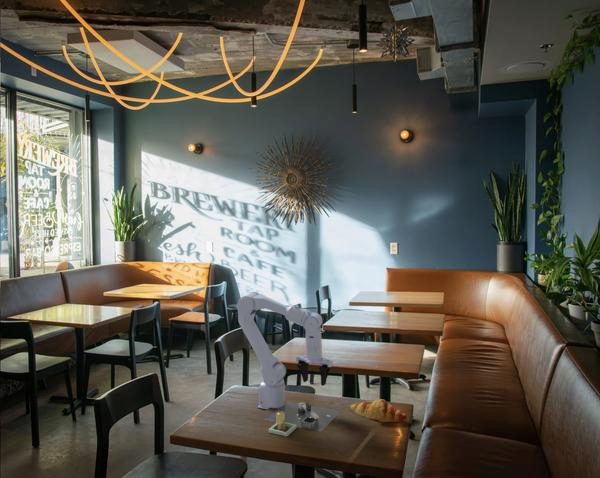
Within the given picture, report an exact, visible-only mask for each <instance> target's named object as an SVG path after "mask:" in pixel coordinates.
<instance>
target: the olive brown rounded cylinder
mask: <svg viewBox="0 0 600 478" xmlns="http://www.w3.org/2000/svg"><path fill="white" fill-rule="evenodd" d="M275 424H276V429H275V430H279V431H284V432H285V430H286V426H285V412H283V411H278V412H276V422H275Z"/></svg>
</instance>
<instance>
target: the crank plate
mask: <svg viewBox="0 0 600 478" xmlns="http://www.w3.org/2000/svg"><path fill="white" fill-rule="evenodd" d="M298 403H299V402H296V401H290V400H288V401H285V405H284V406H282V407H280V408H276V410H274V411H273V412H272V413H270V414H269V415H268V416H267V417H265V418H263V421H266V422H267V421H268V422H272V423H276V412H278V411H283V412H285V422H286V423H291V424H296V425H297V428H299V429H304V430H305V429H306V430H311V431H313V432H319V433H321V432H322V431H323V430H324V429H325V428H327V426H328V425H329V424H331V422H332V421H333V420H334V419H335V418H336V417H337V416H338V415H339V414H340V413H341V412H342V410H338V409H333V408H327V407H322V406H317V405H312V404H310V405H311V410H312V411H313V412H314V413H315V414H317V415H318V416H319V419H313V418H312V417H311V416H310V415H309V414H308V413H307V412H298Z"/></svg>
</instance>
